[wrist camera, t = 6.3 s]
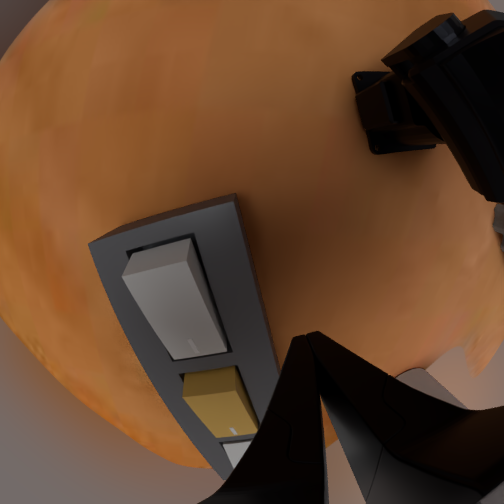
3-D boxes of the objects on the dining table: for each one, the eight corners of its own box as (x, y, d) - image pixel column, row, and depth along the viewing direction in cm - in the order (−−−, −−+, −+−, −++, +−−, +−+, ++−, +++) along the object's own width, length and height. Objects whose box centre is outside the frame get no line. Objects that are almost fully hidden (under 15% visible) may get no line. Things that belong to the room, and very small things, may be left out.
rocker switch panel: (235, 192, 19) (233, 201, 14) (297, 436, 27) (303, 469, 22) (118, 226, 19) (85, 244, 14) (222, 448, 27) (221, 480, 22)
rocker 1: (190, 237, 14) (186, 261, 12) (226, 325, 18) (227, 352, 16) (132, 253, 15) (121, 277, 13) (177, 335, 18) (174, 360, 16)
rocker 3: (262, 425, 22) (262, 440, 19) (276, 468, 22) (277, 482, 20) (225, 430, 22) (222, 445, 19) (243, 473, 22) (242, 487, 20)
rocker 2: (234, 364, 17) (235, 391, 15) (256, 411, 21) (258, 433, 19) (184, 372, 17) (182, 398, 15) (216, 416, 21) (216, 438, 19)
